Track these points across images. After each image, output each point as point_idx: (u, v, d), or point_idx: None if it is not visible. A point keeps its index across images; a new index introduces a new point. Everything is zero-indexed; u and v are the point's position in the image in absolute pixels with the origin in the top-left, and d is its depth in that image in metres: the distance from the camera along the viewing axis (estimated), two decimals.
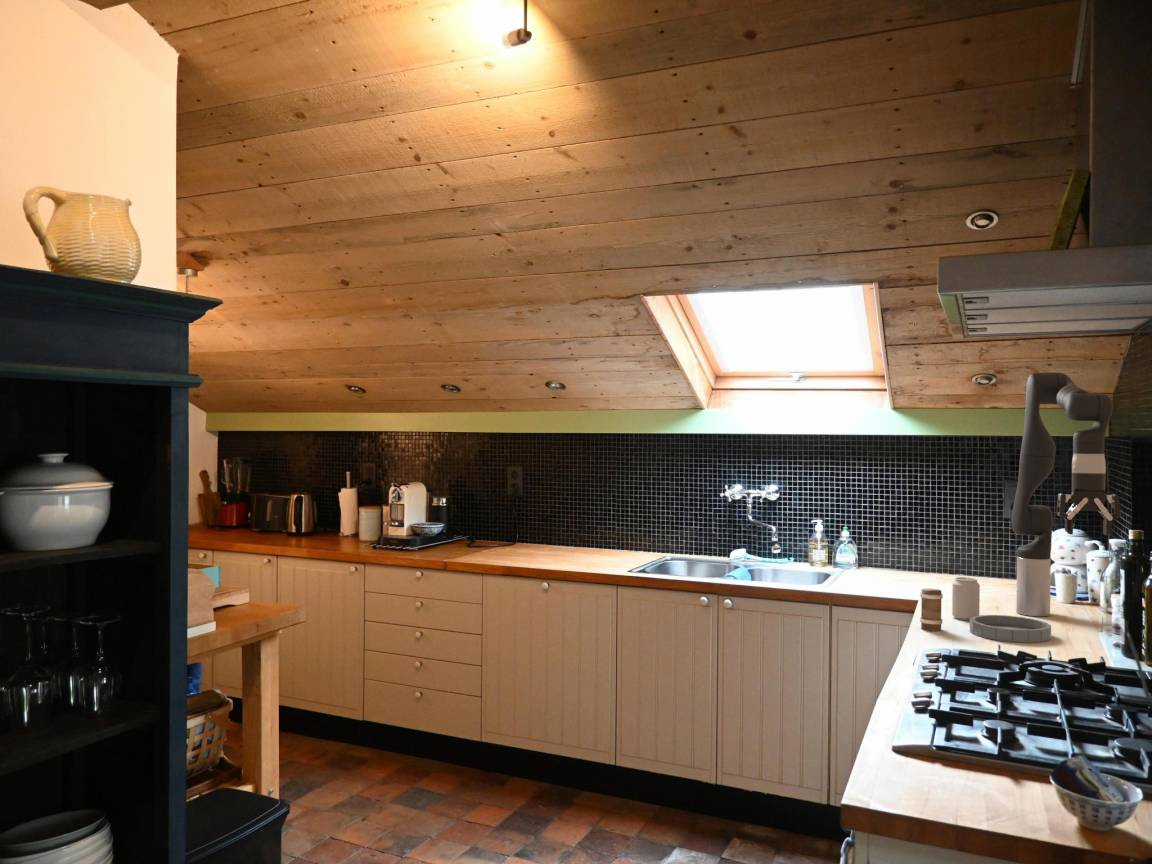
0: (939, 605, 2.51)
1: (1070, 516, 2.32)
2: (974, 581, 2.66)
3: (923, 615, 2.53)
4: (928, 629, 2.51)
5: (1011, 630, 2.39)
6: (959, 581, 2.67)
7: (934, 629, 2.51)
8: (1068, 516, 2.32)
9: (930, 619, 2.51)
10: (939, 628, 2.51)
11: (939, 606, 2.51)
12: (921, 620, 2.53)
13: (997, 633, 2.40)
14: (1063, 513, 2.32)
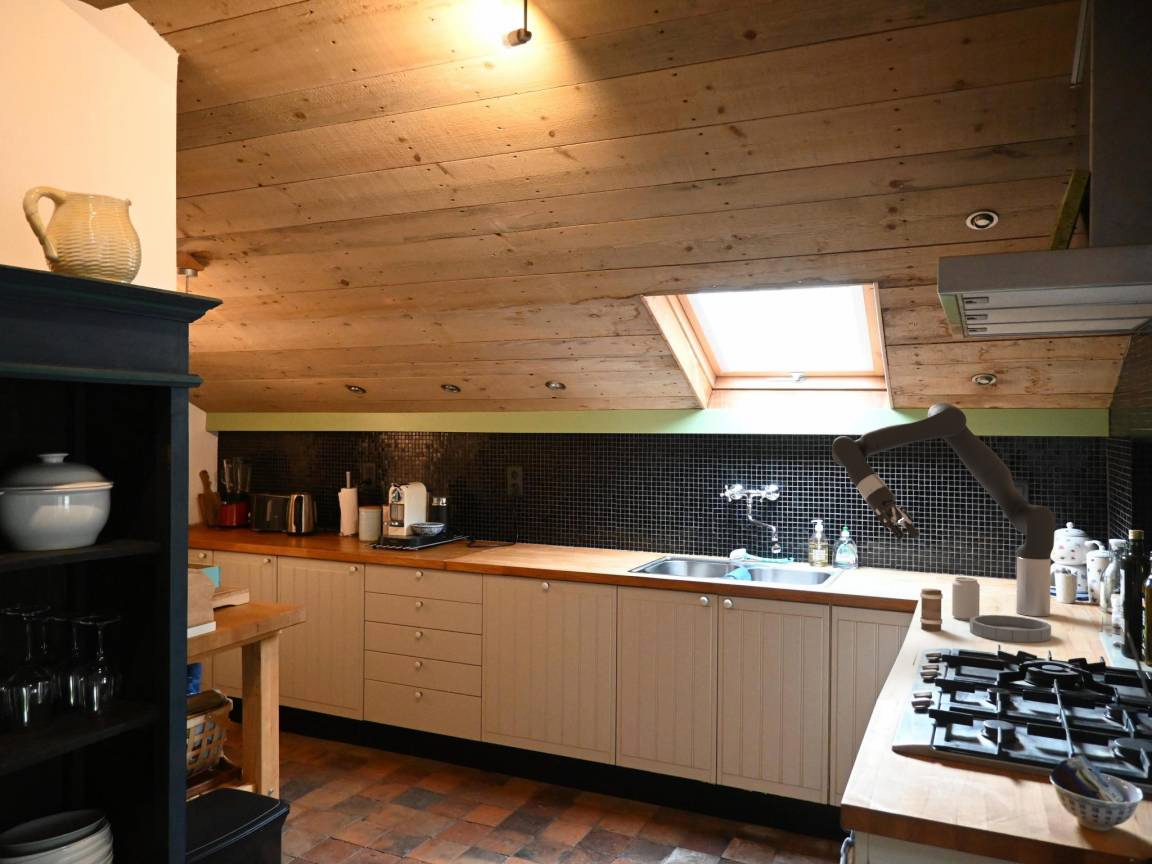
0: (939, 605, 2.51)
1: None
2: (974, 581, 2.66)
3: (923, 615, 2.53)
4: (928, 629, 2.51)
5: (1011, 630, 2.39)
6: (959, 581, 2.67)
7: (934, 629, 2.51)
8: None
9: (930, 619, 2.51)
10: (939, 628, 2.51)
11: (939, 606, 2.51)
12: (921, 620, 2.53)
13: (997, 633, 2.40)
14: None
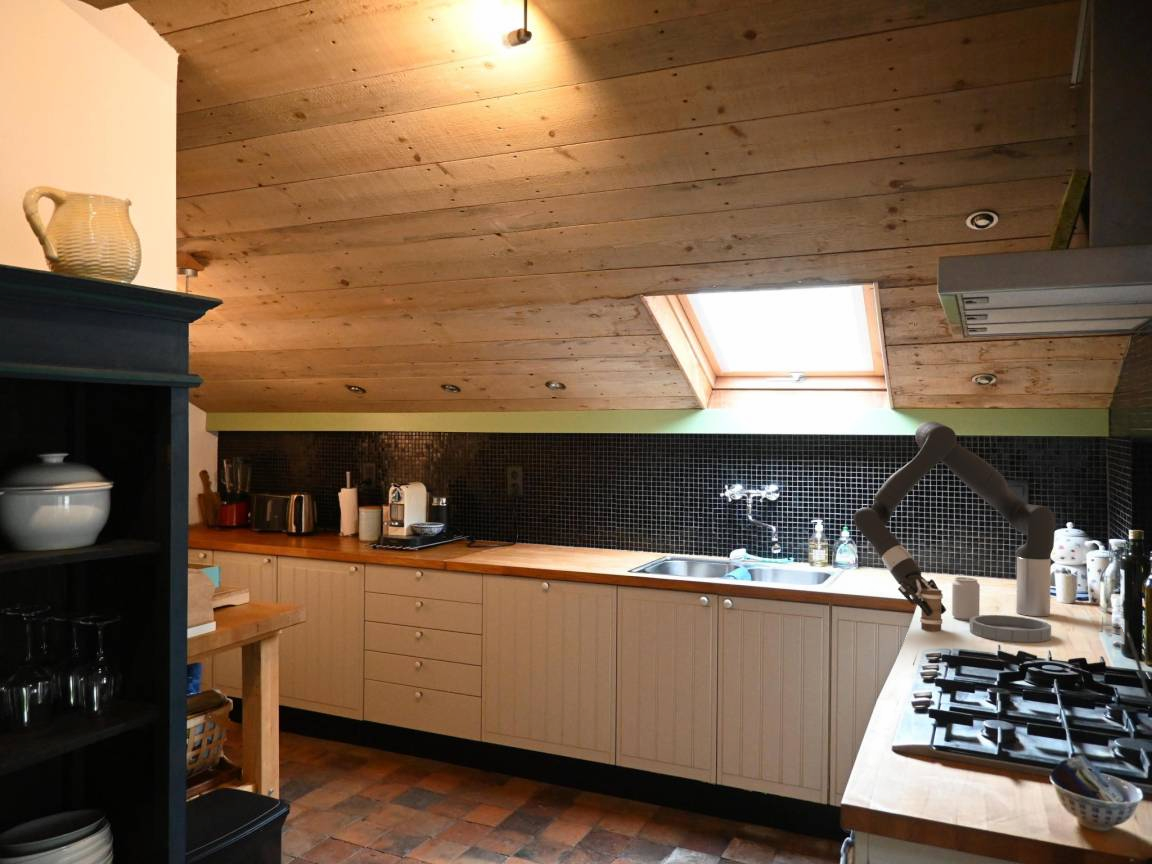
0: (939, 605, 2.51)
1: None
2: (974, 581, 2.66)
3: (923, 615, 2.53)
4: (928, 629, 2.51)
5: (1011, 630, 2.39)
6: (959, 581, 2.67)
7: (934, 629, 2.51)
8: None
9: (930, 619, 2.51)
10: (939, 628, 2.51)
11: (939, 606, 2.51)
12: (921, 620, 2.53)
13: (997, 633, 2.40)
14: None
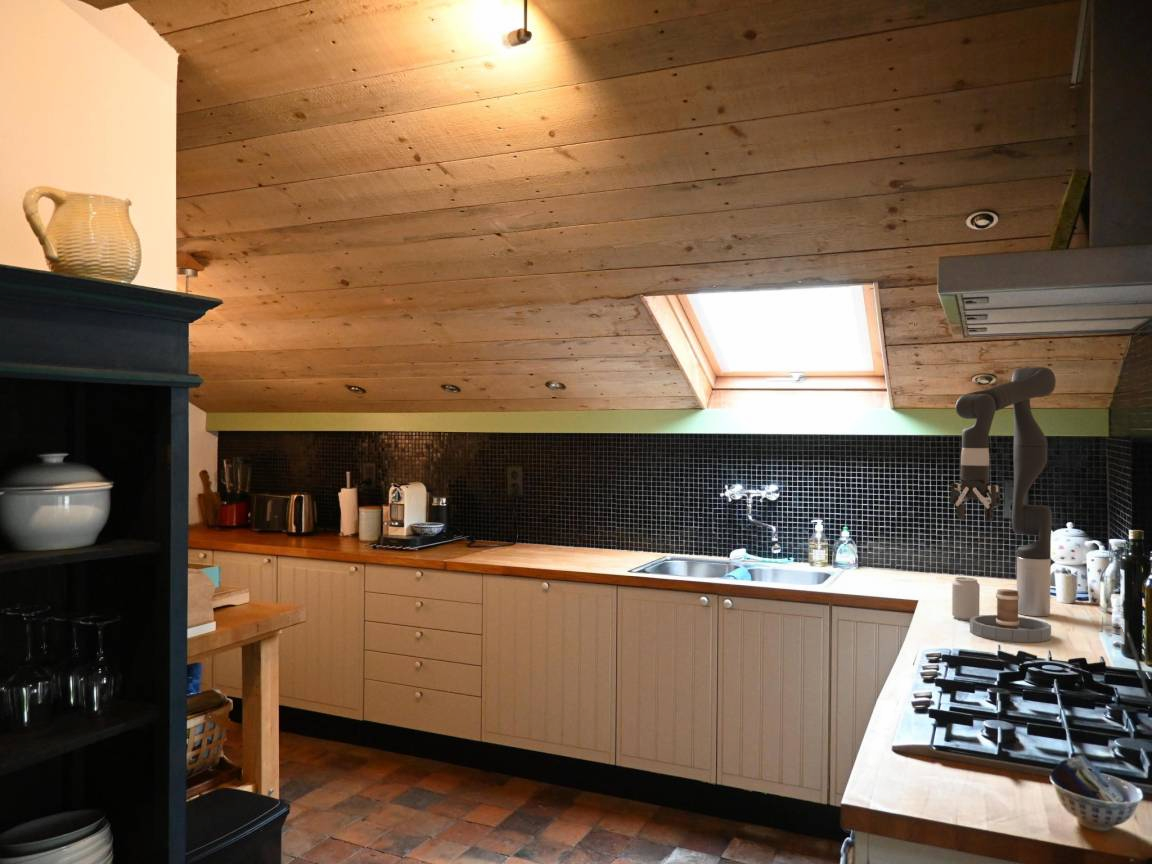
0: (1016, 606, 2.46)
1: (957, 503, 2.62)
2: (974, 581, 2.66)
3: (999, 616, 2.47)
4: None
5: (1011, 630, 2.39)
6: (959, 581, 2.67)
7: None
8: (956, 503, 2.62)
9: (1007, 620, 2.46)
10: None
11: (1016, 607, 2.46)
12: (997, 621, 2.48)
13: (997, 633, 2.40)
14: (952, 500, 2.63)
